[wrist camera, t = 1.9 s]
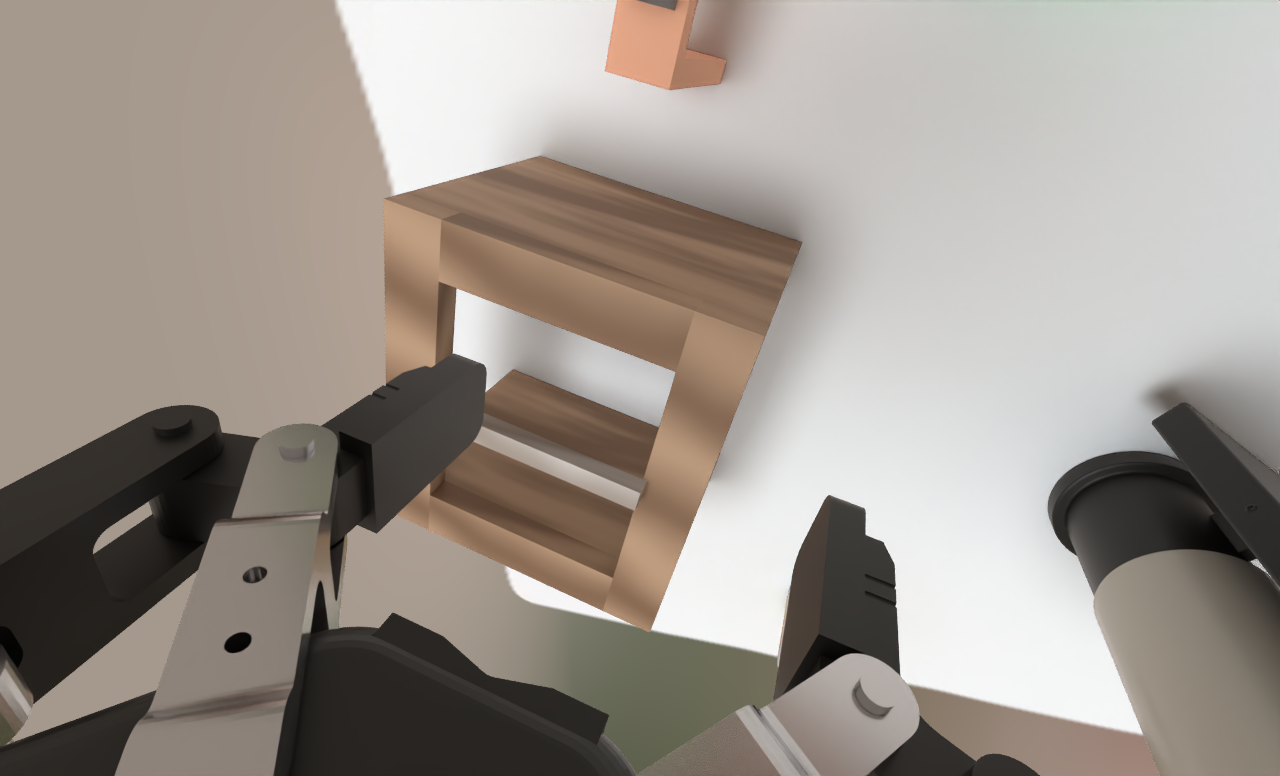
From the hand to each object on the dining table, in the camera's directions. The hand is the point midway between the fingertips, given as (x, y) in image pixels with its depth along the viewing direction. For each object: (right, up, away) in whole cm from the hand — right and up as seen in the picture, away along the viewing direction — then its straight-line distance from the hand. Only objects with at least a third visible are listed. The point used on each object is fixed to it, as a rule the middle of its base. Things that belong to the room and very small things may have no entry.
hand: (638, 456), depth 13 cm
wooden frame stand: (-1, +6, +30) cm, 30 cm away
